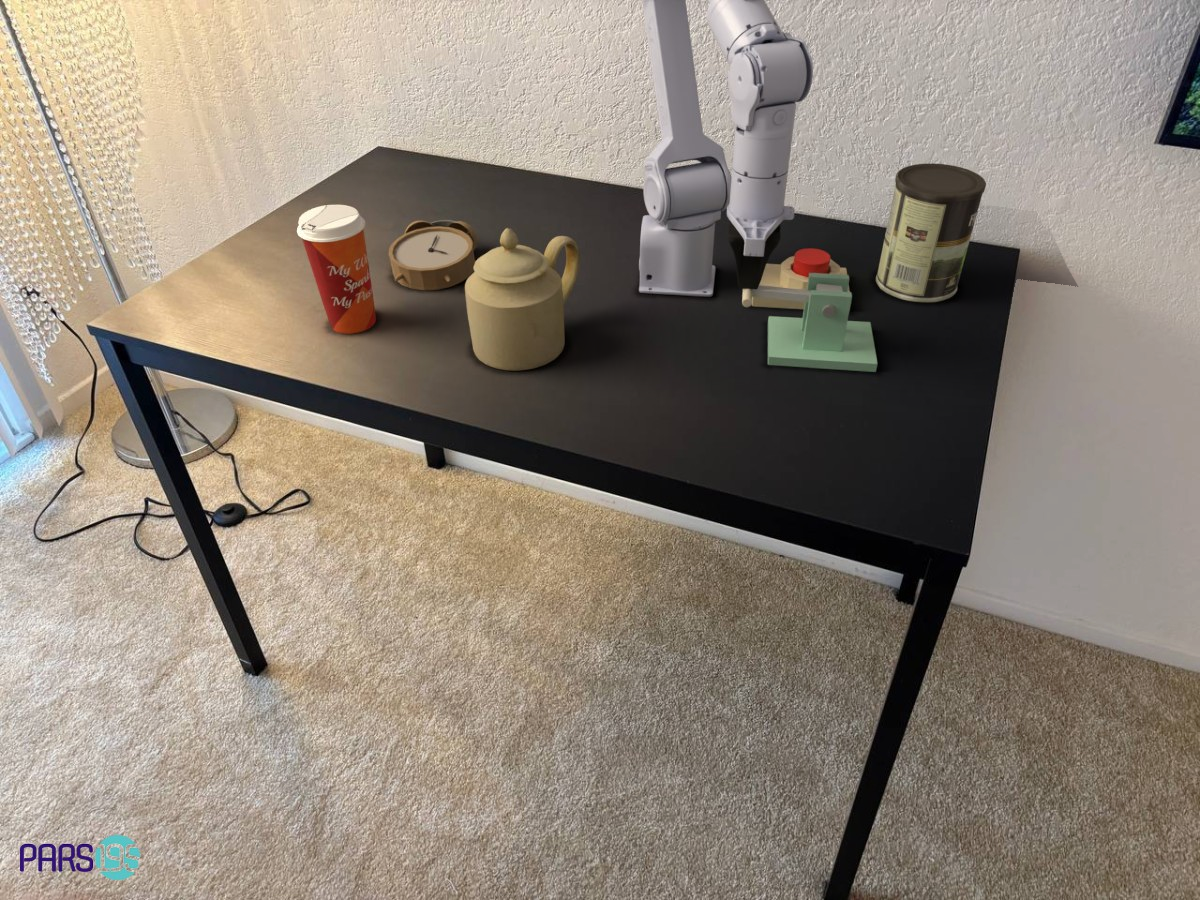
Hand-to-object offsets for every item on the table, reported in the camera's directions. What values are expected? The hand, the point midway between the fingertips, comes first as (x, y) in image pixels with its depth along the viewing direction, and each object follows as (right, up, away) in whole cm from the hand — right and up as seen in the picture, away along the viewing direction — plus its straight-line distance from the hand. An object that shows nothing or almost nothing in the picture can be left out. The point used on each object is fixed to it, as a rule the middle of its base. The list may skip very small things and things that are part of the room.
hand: (748, 286), depth 97 cm
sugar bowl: (-26, -5, +7) cm, 27 cm away
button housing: (+9, +2, +14) cm, 17 cm away
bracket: (+9, -7, +4) cm, 12 cm away
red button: (+10, +4, +12) cm, 16 cm away
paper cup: (-48, -3, +10) cm, 49 cm away
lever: (+5, -2, +1) cm, 5 cm away
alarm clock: (-39, +7, +22) cm, 45 cm away
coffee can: (+24, +3, +15) cm, 29 cm away
